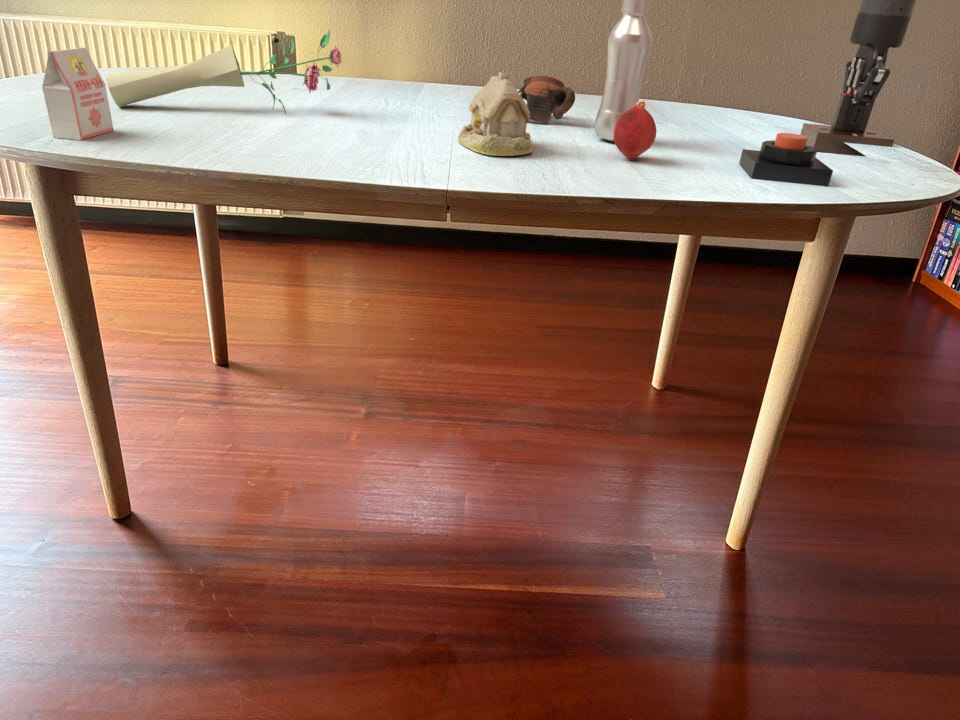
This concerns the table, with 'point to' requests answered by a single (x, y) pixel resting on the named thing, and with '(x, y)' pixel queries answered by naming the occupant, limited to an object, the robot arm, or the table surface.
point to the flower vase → (206, 75)
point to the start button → (791, 141)
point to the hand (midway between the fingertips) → (848, 127)
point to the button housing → (785, 165)
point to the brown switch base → (841, 139)
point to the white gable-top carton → (75, 95)
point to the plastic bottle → (624, 66)
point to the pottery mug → (546, 98)
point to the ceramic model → (498, 120)
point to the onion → (635, 131)
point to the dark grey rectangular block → (843, 111)
